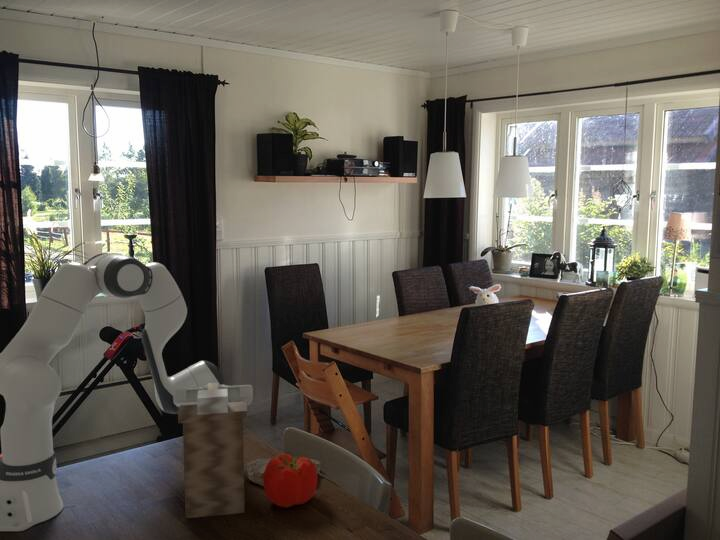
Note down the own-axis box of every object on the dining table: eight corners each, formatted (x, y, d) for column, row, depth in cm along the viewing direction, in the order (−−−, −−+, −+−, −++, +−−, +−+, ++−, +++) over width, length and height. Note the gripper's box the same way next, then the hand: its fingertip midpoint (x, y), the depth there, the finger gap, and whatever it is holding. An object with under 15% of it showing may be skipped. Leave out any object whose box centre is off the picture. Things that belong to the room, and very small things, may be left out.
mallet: (197, 414, 155) (197, 398, 155) (199, 394, 170) (198, 379, 170) (228, 412, 157) (227, 396, 156) (227, 392, 172) (226, 377, 171)
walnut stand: (181, 519, 158) (177, 415, 155) (182, 506, 165) (179, 405, 162) (248, 513, 161) (247, 410, 158) (247, 500, 168) (246, 401, 165)
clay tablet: (237, 487, 176) (310, 491, 173) (237, 469, 176) (310, 473, 173) (253, 466, 190) (322, 470, 187) (253, 450, 189) (321, 453, 186)
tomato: (253, 506, 165) (252, 461, 163) (287, 484, 177) (287, 442, 175) (297, 520, 158) (296, 474, 157) (329, 496, 170) (329, 453, 169)
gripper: (174, 391, 178) (170, 379, 166) (251, 386, 182) (252, 374, 170) (174, 414, 176) (170, 404, 163) (252, 409, 180) (253, 399, 167)
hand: (213, 389), depth 166 cm, fingers closed on mallet, 2 cm apart
